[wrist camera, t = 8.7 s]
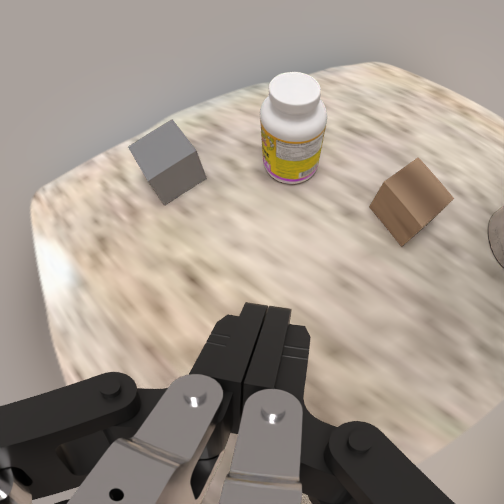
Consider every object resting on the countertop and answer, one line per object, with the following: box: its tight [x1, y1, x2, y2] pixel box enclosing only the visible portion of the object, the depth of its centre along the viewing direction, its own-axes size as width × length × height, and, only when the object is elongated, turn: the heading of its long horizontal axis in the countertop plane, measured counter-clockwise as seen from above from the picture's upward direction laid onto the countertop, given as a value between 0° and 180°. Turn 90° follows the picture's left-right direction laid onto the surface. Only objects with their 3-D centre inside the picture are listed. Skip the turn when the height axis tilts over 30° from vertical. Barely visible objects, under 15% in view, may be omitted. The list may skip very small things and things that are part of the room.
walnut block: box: [369, 158, 454, 247], centre depth 32 cm, size 6×6×6 cm
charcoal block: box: [128, 120, 207, 205], centre depth 35 cm, size 6×6×6 cm
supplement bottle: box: [260, 72, 327, 184], centre depth 32 cm, size 7×7×13 cm
